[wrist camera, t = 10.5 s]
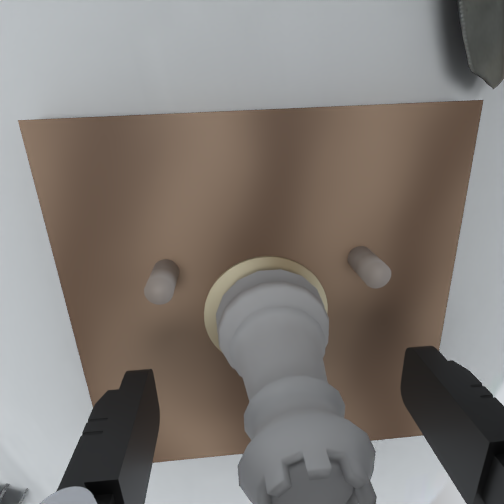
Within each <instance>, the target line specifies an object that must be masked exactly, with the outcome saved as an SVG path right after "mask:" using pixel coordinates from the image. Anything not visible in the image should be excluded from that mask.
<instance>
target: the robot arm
mask: <svg viewBox="0 0 504 504" xmlns="http://www.w3.org/2000/svg"><path fill="white" fill-rule="evenodd" d="M400 390H401V396H402V400H403V403H404V405H405V407H406V408H407V410H408V412H409V413H410V415H411V416H412V418H413V419H414V421H415V423H416V424H417V426H418V427H419V429H420V431H421V432H422V434H423V435H424V437H425V438H426V440H427V442H428V443H429V445H430V446H431V448H432V450H433V451H434V453H435V454H436V456H437V457H438V459H439V461H440V462H441V464H442V465H443V467H444V469H445V470H446V472H447V473H448V475H449V477H450V478H451V480H452V481H453V483H454V484H455V486H456V487H457V489H458V491H459V492H460V494H461V496H462V497H463V499H464V500H465V502H466V503H467V504H504V406H503V405H502V404H501V403H500V402H499V401H498V400H497V399H496V398H493V395H492V394H491V393H490V392H489V390H488V389H487V388H486V387H485V386H484V387H483V386H482V383H481V382H480V381H479V380H478V379H477V378H476V377H475V376H474V375H473V374H472V373H471V372H470V371H469V370H467V369H466V368H464V367H462V366H461V365H459V364H457V363H456V362H454V361H453V360H452V361H447V360H446V358H445V357H444V356H443V355H442V354H441V353H440V352H439V351H438V350H437V349H436V348H435V347H434V346H420V347H409V348H407V349H406V351H405V355H404V363H403V370H402V377H401V385H400ZM159 426H160V408H159V402H158V396H157V390H156V384H155V379H154V373H153V370H152V369H143V370H131V371H126V372H125V374H124V377H123V379H122V382H121V385H120V388H119V389H116V390H108V391H107V392H106V393H105V394H104V395H103V396H102V397H101V398H100V399H99V400H98V401H97V402H96V403H95V405H94V407H93V410H92V412H91V414H90V417H89V419H88V423H86V426H85V428H84V430H83V435H82V436H81V437H80V439H79V442H78V444H77V446H76V449H75V451H74V453H73V455H72V458H71V460H70V462H69V465H68V467H67V469H66V471H65V474H64V476H63V478H62V481H61V483H60V485H59V487H58V489H57V491H56V492H55V493H53V494H51V495H50V496H48V497H47V498H46V499H44V500H43V501H42V502H41V503H40V504H144V503H145V498H146V493H147V488H148V482H149V477H150V472H151V467H152V462H153V457H154V452H155V447H156V442H157V437H158V432H159Z"/></svg>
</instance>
